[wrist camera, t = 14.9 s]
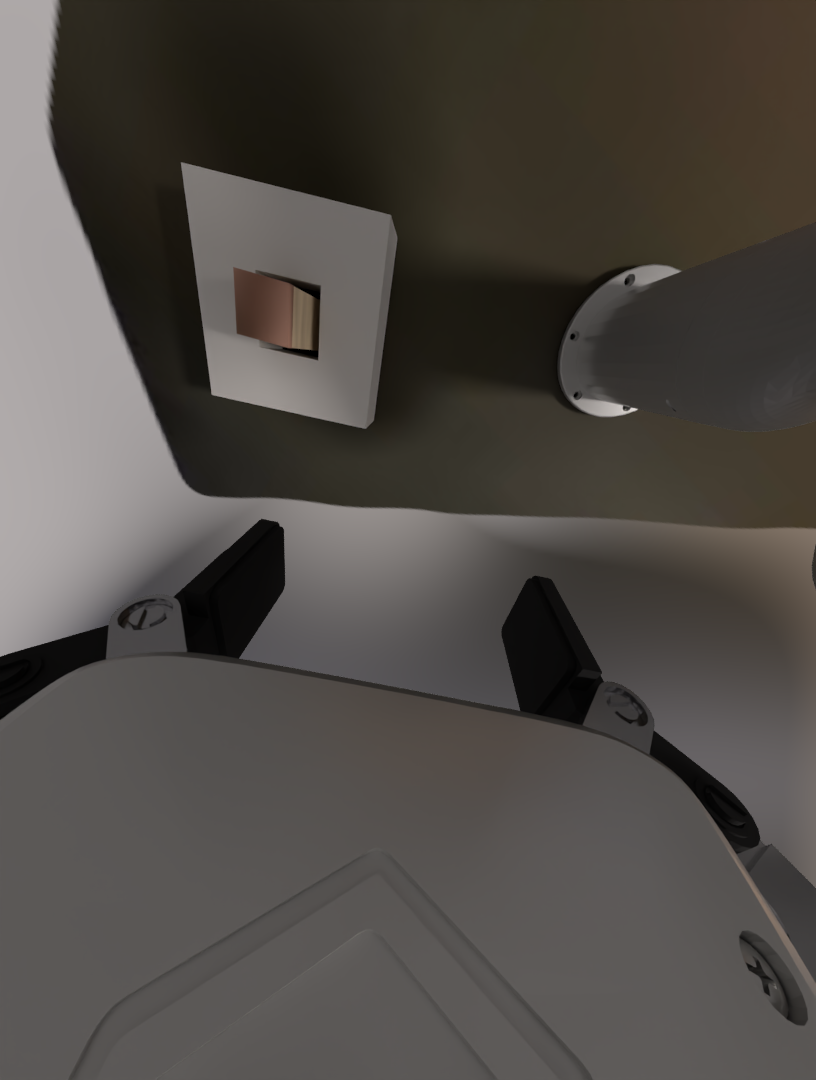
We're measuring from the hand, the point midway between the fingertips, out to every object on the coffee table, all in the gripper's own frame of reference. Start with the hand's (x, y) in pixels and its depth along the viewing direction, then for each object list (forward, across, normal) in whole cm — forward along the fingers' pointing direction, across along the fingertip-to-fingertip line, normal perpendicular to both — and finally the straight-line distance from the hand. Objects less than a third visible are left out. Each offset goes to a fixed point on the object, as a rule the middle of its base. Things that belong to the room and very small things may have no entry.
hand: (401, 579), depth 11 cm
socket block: (+28, +14, -8) cm, 33 cm away
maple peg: (+28, +14, -8) cm, 33 cm away
